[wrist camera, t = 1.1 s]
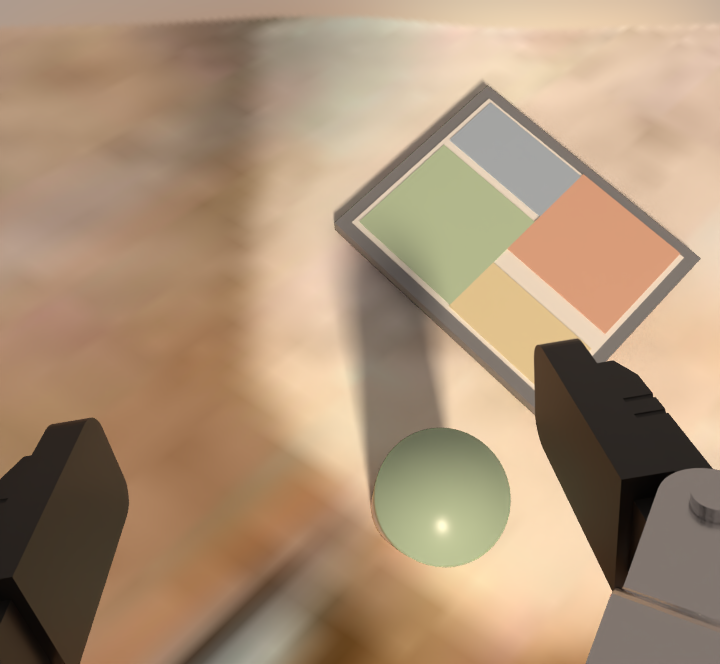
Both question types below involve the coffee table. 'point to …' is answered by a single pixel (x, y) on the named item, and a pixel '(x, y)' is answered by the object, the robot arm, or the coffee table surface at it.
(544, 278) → the picture board
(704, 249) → the coffee table surface
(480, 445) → the marker
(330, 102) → the coffee table surface
